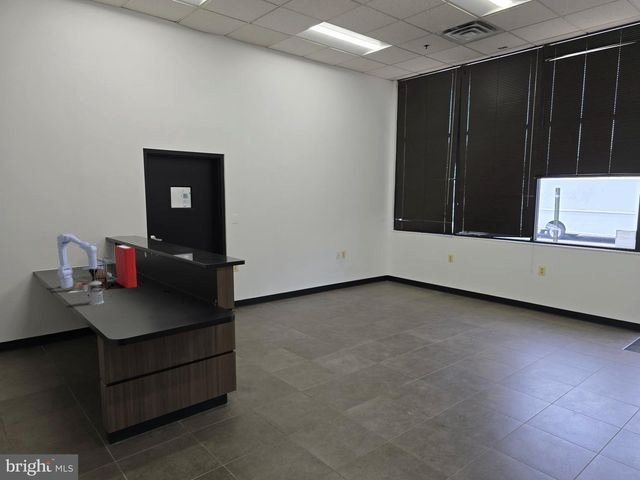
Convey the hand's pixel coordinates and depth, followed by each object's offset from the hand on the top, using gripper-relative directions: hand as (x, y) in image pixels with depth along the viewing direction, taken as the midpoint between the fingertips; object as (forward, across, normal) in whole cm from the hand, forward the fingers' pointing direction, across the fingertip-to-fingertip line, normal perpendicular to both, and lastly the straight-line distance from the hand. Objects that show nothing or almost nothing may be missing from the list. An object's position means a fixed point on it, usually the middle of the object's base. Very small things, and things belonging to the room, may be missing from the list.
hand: (93, 278), depth 330 cm
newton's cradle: (+10, -7, +44) cm, 46 cm away
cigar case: (+10, -5, +24) cm, 26 cm away
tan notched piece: (+9, -9, 0) cm, 13 cm away
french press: (+10, +16, -39) cm, 43 cm away
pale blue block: (+9, -9, -8) cm, 15 cm away
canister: (+8, -12, 0) cm, 14 cm away
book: (+10, +19, +17) cm, 27 cm away
